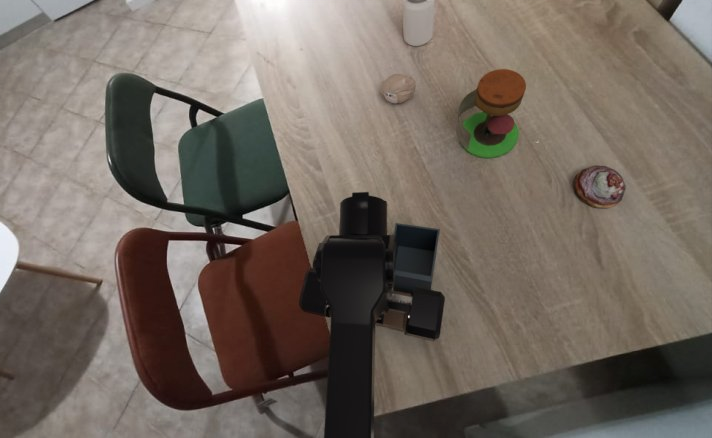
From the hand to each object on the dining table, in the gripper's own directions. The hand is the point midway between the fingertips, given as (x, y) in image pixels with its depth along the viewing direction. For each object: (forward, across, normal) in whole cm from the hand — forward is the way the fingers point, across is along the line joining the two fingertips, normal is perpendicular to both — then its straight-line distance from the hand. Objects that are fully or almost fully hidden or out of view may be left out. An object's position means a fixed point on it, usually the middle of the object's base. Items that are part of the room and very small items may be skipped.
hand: (373, 314), depth 67 cm
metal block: (+13, -4, -3) cm, 14 cm away
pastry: (+13, -32, -32) cm, 47 cm away
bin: (+13, -4, -7) cm, 15 cm away
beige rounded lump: (+13, +5, -50) cm, 52 cm away
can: (+13, +3, -67) cm, 69 cm away
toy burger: (+13, -14, -42) cm, 47 cm away
